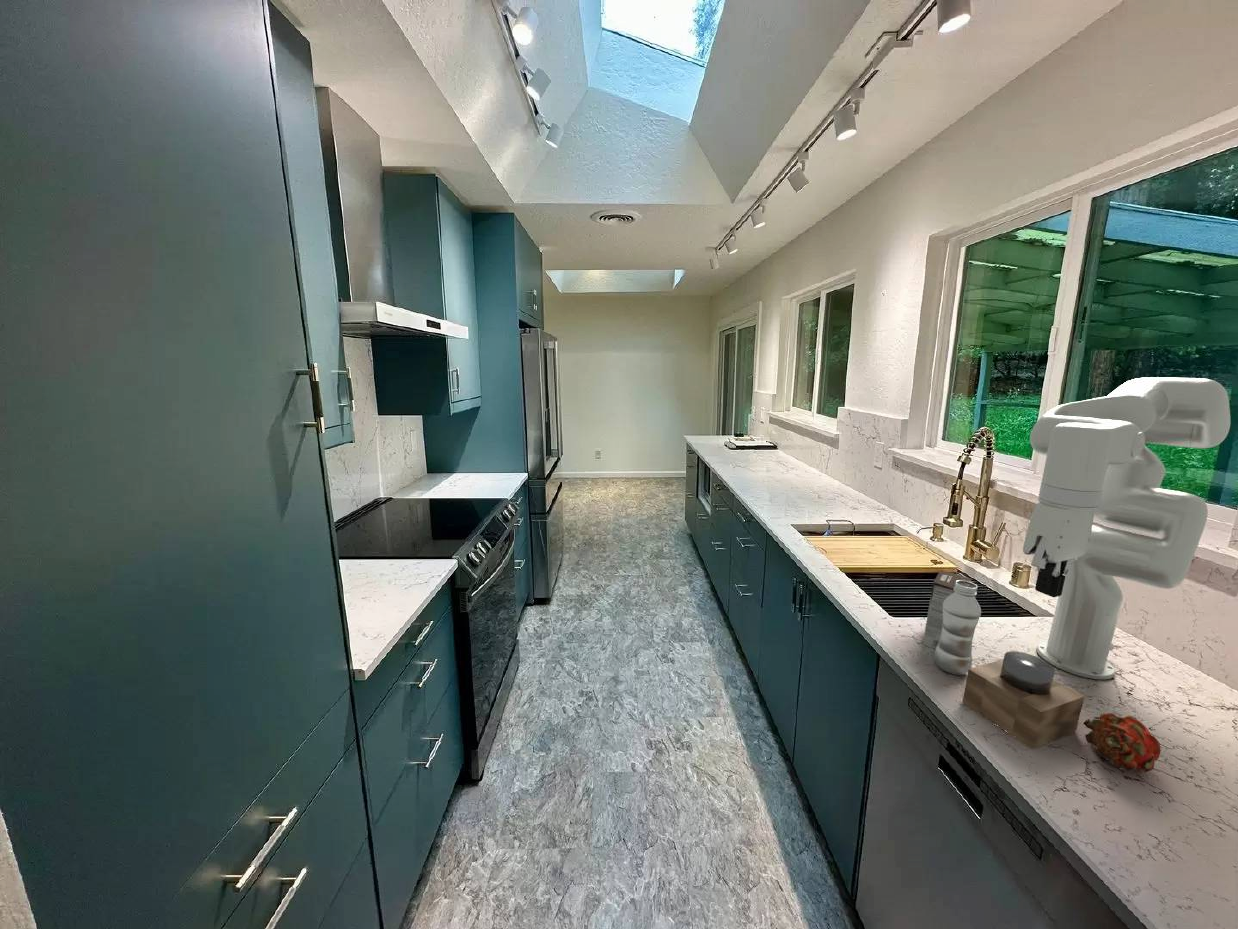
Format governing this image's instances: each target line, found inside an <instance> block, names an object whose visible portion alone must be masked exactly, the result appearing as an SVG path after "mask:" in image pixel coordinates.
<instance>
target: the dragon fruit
mask: <svg viewBox="0 0 1238 929" xmlns="http://www.w3.org/2000/svg"><path fill="white" fill-rule="evenodd" d="M1082 724H1083V725H1084V726H1085V728H1088V729H1089V730H1091V731H1090V732H1088V733H1087V734H1084V737H1085V741H1086V742H1087V743H1088V744H1090V745H1092V746H1093V747H1094V748H1096V752H1097V753H1098V754H1099V756H1101V757H1102V758H1105V760H1107V762H1108V763H1110V764H1112V765H1113V766H1114V767H1116V768H1117V769H1119V770H1123V771H1124V772H1131V771H1135V770H1136V771H1143V772H1144V773H1146V772H1147V773H1148V772H1150V771H1152V770H1153V769H1154V767H1155V762H1157V761H1158V759H1159V758H1160V756H1161V754H1162V753H1161V752H1162V748H1161V743H1160V742H1159V741H1158V738H1156V736H1154V735H1152V734H1151V732H1150V731H1149V730H1148V728H1147V727H1146V726H1145V725H1144V724H1143V723H1142V722H1141V721H1139V720H1138V719H1137V718H1136V717H1133V716H1131V715H1127V716H1124V717H1121V716H1117V715H1116V714H1114V713H1101V714H1100V715H1099V716H1093V719H1092V720H1091V719H1090V718H1087V719H1085V720H1084V721H1083V723H1082Z"/></svg>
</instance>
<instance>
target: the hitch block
mask: <svg viewBox="0 0 1238 929" xmlns="http://www.w3.org/2000/svg"><path fill="white" fill-rule="evenodd" d="M1003 660H1004V658H1002V659H998V660H995V661H992V662H988V663H985V664H981V665H978V666H975V667H971V668H970V669H969V670H968V672H967V676H966V681H965V686H964V690H963V691H964V692H963V696H962V701H961V703H962V702H963V703H962V704H964V705H965V706H966V707H968V706H969V707H968V708H970V709H971V708H972V709H971V710H973V711H975V712H976V713H977V712H978V713H977V714H978V715H980V714H981V715H980V716H981V717H983V718H984V719H986V718H987V719H986V720H988V721H989V720H990V721H989V722H990V723H992V724H994V725H995V724H996V725H995V726H997V725H998V726H999V727H998V726H997V727H998V728H999V729H1001V728H1002V730H1003V731H1004V730H1006V731H1007V732H1008V733H1007V732H1006V731H1005V732H1006V733H1007V734H1008V735H1010V734H1011V735H1010V736H1012V737H1013V736H1015V737H1016V738H1017V739H1016V738H1015V737H1014V738H1015V739H1016V740H1018V741H1019V740H1020V741H1019V742H1021V743H1022V742H1023V743H1022V744H1024V745H1025V744H1026V745H1025V746H1027V747H1028V748H1030V749H1031V750H1035V749H1037V748H1039V747H1041V746H1044V745H1046V744H1049V743H1052V742H1054V741H1057V740H1059V739H1061V738H1064V737H1067V736H1069V735H1073V734H1074V733H1076V732H1077V730H1078V729H1077V728H1078V724H1079V720H1080V717H1081V713H1082V709H1083V705H1084V702H1085V701H1084V700H1085V695H1084V694H1081V693H1080V692H1078V691H1076V690H1074V689H1071V688H1070V687H1069V686H1066V685H1064V684H1063V683H1061V682H1058V681H1057V680H1055V679H1053V681H1052V685H1051V689H1050V693H1049V694H1047V695H1035V694H1033V695H1031V694H1029V693H1027V692H1024V691H1021V690H1019V689H1017V688H1015V687H1013V686H1011V685H1009V684H1008V683H1007V682H1005V681H1004V680H1003V679H1002V677H1001V669H1002V665H1003Z"/></svg>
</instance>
